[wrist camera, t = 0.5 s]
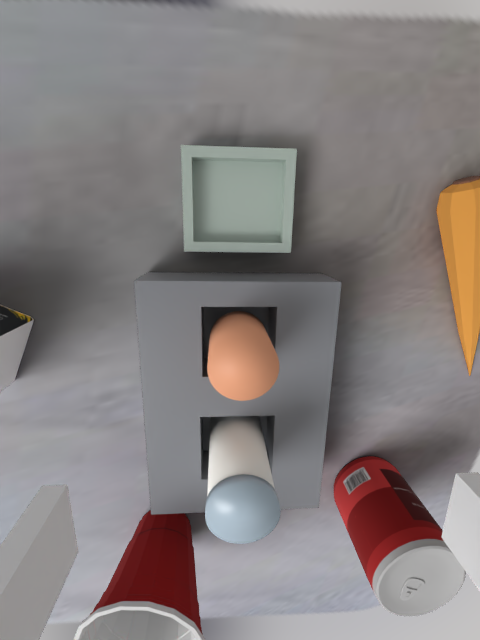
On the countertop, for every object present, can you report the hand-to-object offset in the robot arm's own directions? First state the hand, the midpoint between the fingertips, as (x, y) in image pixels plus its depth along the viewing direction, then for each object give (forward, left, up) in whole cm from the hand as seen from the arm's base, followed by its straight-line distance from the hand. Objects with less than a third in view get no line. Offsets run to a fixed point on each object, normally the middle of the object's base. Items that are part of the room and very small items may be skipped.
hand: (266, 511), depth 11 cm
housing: (0, -6, -21) cm, 22 cm away
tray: (0, +11, -21) cm, 24 cm away
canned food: (+15, -19, -22) cm, 32 cm away
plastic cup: (-8, -24, -21) cm, 33 cm away
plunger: (0, 0, -17) cm, 17 cm away
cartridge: (0, -10, -20) cm, 23 cm away
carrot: (+22, +4, -22) cm, 31 cm away
